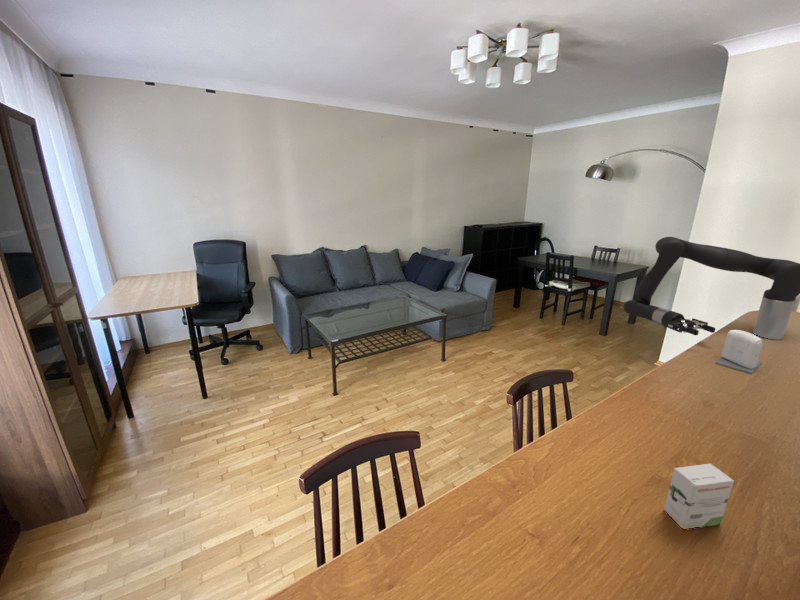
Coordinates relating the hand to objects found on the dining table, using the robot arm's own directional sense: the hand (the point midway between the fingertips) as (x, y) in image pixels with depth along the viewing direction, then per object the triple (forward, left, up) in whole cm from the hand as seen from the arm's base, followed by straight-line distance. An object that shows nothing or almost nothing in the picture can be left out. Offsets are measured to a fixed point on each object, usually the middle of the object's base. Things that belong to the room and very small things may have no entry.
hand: (706, 331), depth 135 cm
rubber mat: (+4, +12, -8) cm, 15 cm away
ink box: (+93, +27, -8) cm, 97 cm away
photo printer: (+4, +12, -8) cm, 15 cm away
